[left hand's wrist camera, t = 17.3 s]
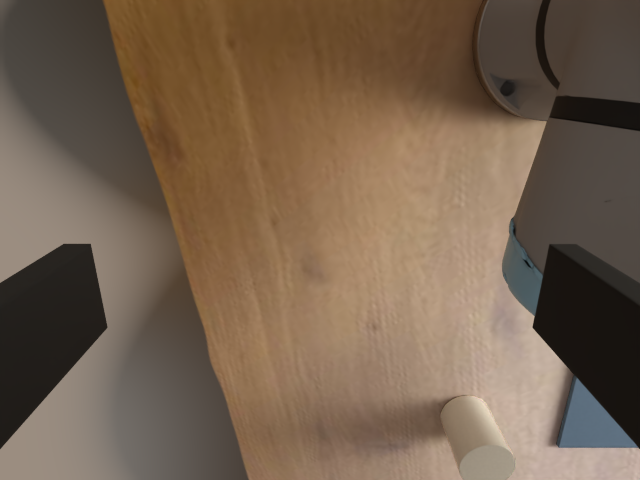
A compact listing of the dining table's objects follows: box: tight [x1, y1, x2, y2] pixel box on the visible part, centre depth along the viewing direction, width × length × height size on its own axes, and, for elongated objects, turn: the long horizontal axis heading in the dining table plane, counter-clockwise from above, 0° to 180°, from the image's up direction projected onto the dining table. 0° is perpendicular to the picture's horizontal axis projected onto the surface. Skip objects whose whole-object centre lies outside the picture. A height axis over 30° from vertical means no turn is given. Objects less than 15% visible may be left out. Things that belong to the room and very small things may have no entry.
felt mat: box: [557, 375, 638, 448], centre depth 52 cm, size 28×14×1 cm, turn 0°
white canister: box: [440, 395, 516, 480], centre depth 51 cm, size 6×6×8 cm
